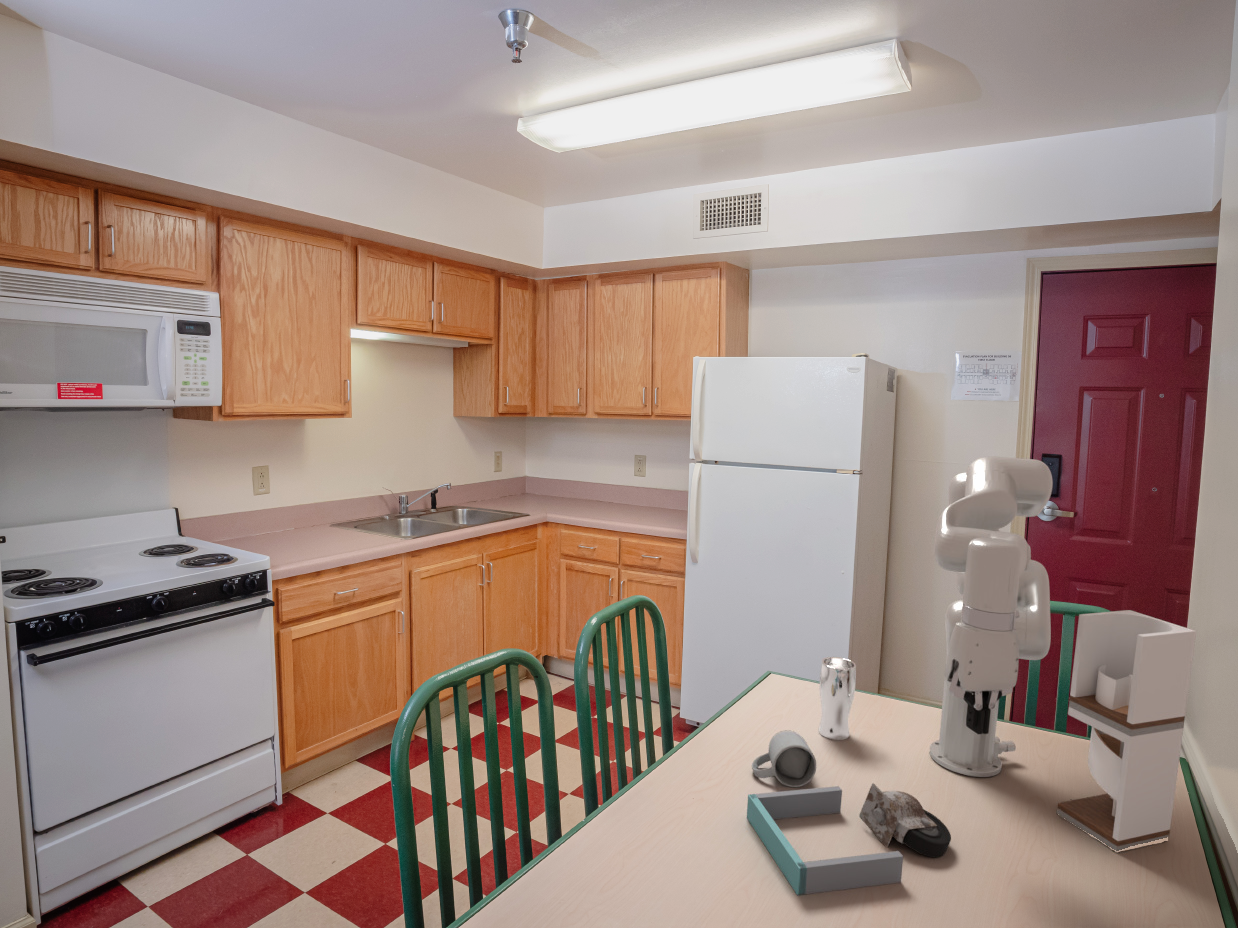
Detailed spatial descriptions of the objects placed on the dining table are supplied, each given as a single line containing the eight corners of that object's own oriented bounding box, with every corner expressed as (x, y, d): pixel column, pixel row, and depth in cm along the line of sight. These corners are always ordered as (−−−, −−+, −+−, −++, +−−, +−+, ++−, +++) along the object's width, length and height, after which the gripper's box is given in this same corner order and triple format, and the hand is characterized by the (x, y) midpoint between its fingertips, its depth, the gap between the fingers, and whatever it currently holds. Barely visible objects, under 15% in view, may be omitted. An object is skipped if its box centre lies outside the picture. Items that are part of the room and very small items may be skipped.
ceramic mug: (804, 764, 137) (806, 725, 137) (815, 788, 129) (818, 747, 128) (748, 763, 138) (749, 724, 137) (755, 787, 129) (757, 745, 129)
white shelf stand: (1106, 804, 128) (1129, 609, 124) (1168, 841, 118) (1196, 630, 114) (1056, 814, 124) (1079, 614, 120) (1116, 853, 114) (1143, 636, 110)
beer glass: (851, 728, 152) (857, 659, 151) (850, 744, 146) (856, 671, 144) (817, 722, 155) (822, 654, 153) (814, 737, 148) (819, 666, 146)
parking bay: (836, 808, 123) (838, 785, 123) (901, 881, 106) (903, 856, 105) (746, 817, 120) (748, 794, 119) (797, 894, 102) (799, 868, 102)
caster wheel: (951, 865, 114) (905, 872, 109) (900, 812, 123) (856, 816, 119) (968, 830, 112) (921, 836, 108) (914, 779, 122) (870, 782, 118)
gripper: (1011, 609, 120) (1000, 717, 121) (930, 611, 116) (920, 722, 118) (1047, 624, 112) (1035, 738, 114) (962, 627, 109) (951, 744, 111)
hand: (976, 729), depth 116 cm, fingers closed
